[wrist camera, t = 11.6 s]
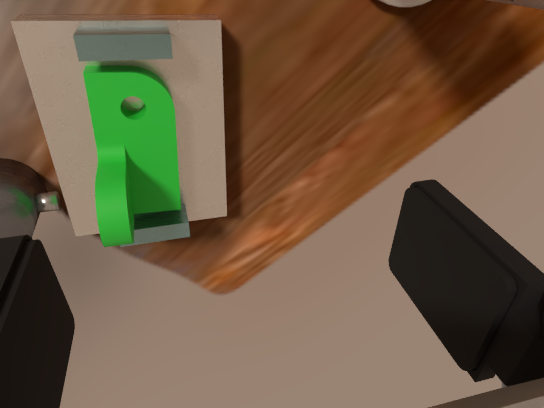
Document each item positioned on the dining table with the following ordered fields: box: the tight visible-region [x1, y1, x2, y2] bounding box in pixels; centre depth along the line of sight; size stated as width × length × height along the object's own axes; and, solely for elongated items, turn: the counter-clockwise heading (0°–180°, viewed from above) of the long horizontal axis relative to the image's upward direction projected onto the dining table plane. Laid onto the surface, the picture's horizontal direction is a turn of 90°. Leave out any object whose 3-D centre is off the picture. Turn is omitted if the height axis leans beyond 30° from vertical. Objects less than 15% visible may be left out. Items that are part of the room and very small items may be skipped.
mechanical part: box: [83, 65, 181, 247], centre depth 29 cm, size 12×6×8 cm, turn 176°
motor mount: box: [0, 14, 227, 247], centre depth 31 cm, size 22×18×6 cm
